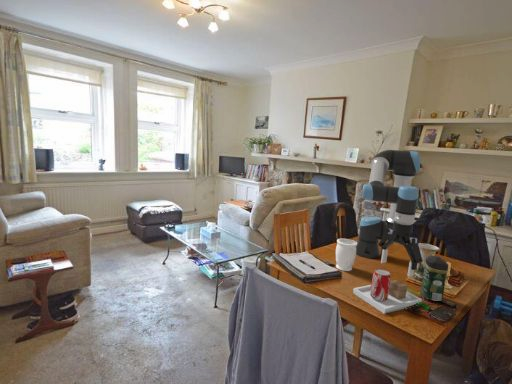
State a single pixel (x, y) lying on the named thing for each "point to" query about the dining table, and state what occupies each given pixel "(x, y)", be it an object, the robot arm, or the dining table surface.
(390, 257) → the dining table surface
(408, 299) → the tray
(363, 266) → the dining table surface
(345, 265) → the jar
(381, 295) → the soda can
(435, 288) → the coffee jar
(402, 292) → the walnut block
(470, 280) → the dining table surface
